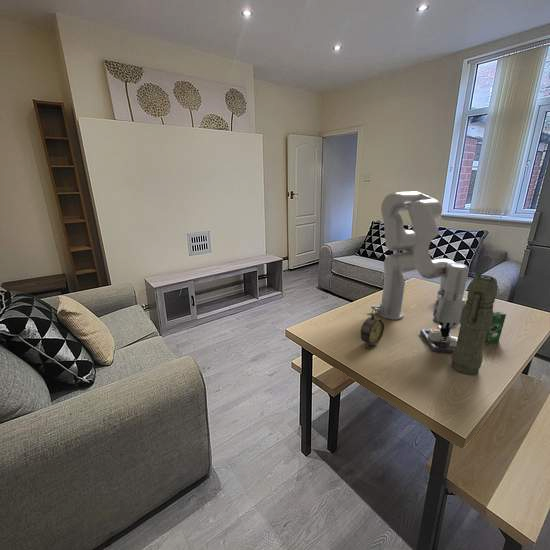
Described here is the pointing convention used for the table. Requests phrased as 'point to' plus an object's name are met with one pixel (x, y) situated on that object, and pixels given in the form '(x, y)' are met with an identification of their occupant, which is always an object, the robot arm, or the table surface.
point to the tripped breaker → (434, 334)
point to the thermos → (474, 325)
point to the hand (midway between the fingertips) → (444, 335)
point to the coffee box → (495, 328)
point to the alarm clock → (372, 330)
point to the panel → (440, 342)
